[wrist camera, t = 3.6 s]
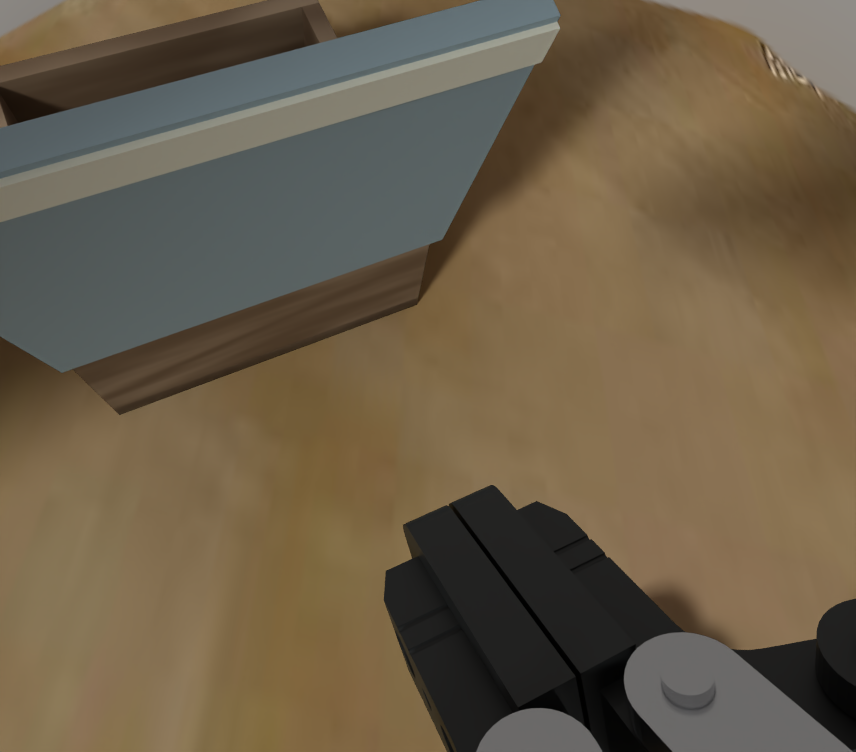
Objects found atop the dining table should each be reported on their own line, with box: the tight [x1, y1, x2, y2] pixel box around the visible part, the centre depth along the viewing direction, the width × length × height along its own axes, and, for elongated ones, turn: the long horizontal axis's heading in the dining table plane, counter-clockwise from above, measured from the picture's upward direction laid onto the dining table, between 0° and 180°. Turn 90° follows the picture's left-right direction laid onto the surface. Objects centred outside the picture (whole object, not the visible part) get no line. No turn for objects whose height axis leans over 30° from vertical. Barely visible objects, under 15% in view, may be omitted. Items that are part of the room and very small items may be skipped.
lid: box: [0, 0, 561, 373], centre depth 24 cm, size 16×18×1 cm
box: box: [0, 0, 429, 415], centre depth 39 cm, size 16×18×9 cm
